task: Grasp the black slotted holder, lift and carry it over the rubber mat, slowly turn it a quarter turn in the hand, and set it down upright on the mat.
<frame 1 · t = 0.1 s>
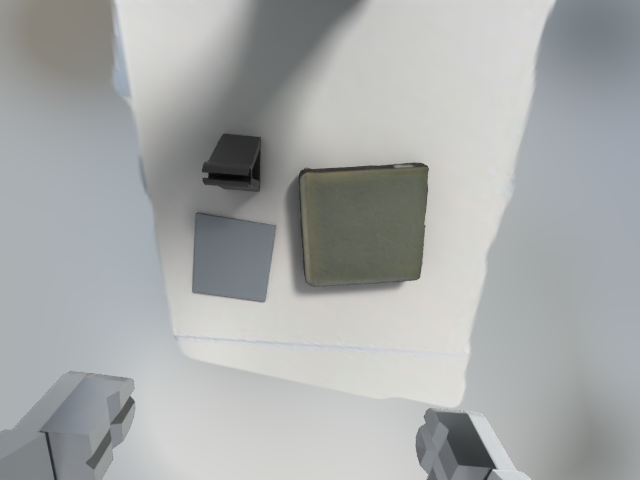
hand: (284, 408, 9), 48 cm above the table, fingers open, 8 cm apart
rubber mat: (233, 259, 59), on the table
network switch: (359, 222, 58), on the table
black slotted holder: (242, 163, 53), on the table
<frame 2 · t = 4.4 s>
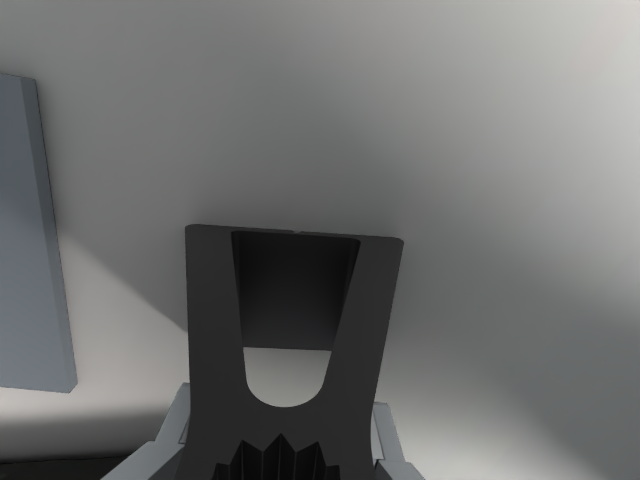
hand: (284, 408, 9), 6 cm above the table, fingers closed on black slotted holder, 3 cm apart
black slotted holder: (293, 289, 15), on the table, touching gripper
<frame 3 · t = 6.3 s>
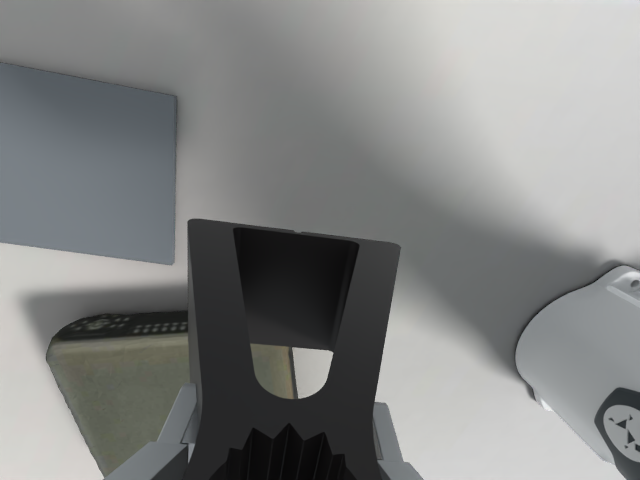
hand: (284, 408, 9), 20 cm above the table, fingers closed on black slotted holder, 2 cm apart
rubber mat: (71, 170, 25), on the table
network switch: (203, 383, 35), on the table
black slotted holder: (290, 287, 15), point 13 cm above the table, touching gripper
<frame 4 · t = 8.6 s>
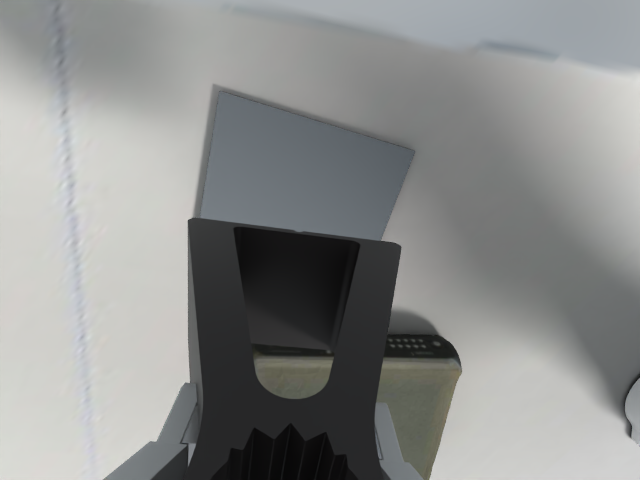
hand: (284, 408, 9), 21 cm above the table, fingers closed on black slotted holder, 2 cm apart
rubber mat: (299, 203, 28), on the table
network switch: (341, 397, 38), on the table
black slotted holder: (290, 287, 15), point 14 cm above the table, touching gripper
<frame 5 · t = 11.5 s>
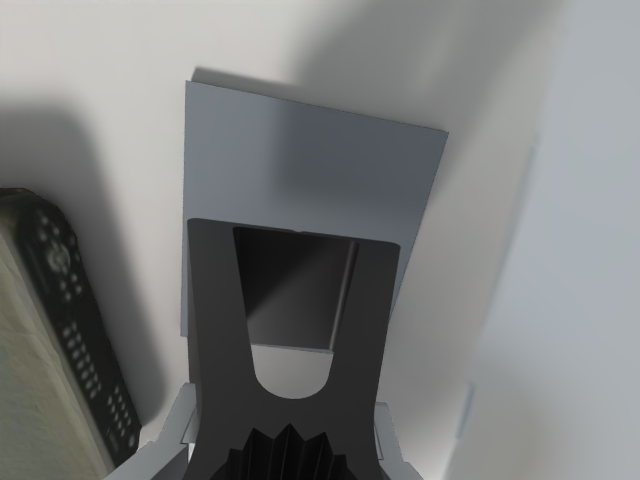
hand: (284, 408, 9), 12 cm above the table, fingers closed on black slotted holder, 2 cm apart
rubber mat: (299, 242, 20), on the table
black slotted holder: (289, 287, 15), point 6 cm above the table, touching gripper
when the fingers open (7 cm above the table, at t = 14.2 s): black slotted holder stays where it is, resting on rubber mat.
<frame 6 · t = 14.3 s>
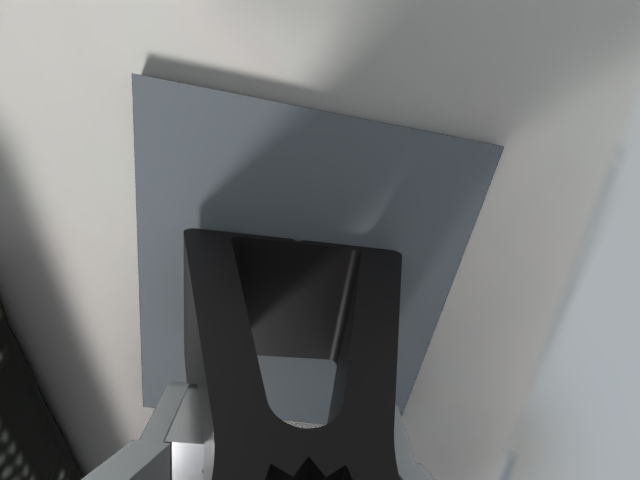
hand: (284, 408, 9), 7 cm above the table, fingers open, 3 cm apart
rubber mat: (296, 289, 15), on the table
black slotted holder: (289, 297, 15), point 1 cm above the table, touching gripper, rubber mat
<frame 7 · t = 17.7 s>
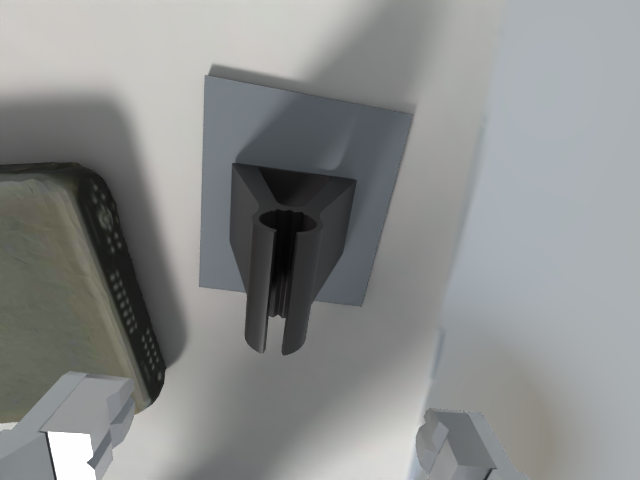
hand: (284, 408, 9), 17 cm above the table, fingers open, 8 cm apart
rubber mat: (295, 206, 25), on the table
network switch: (24, 286, 27), on the table
black slotted holder: (291, 208, 24), resting on rubber mat
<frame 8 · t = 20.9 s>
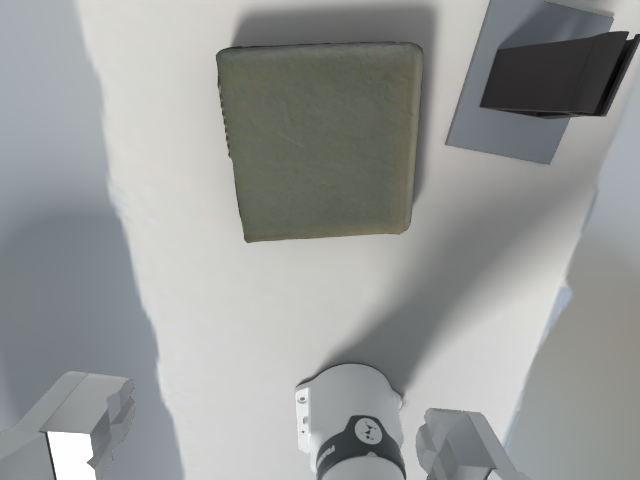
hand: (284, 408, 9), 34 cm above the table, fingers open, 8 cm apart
rubber mat: (522, 86, 37), on the table
network switch: (322, 147, 40), on the table
black slotted holder: (521, 86, 37), resting on rubber mat
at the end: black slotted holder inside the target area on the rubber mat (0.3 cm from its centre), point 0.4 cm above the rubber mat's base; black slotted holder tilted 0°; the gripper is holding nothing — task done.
